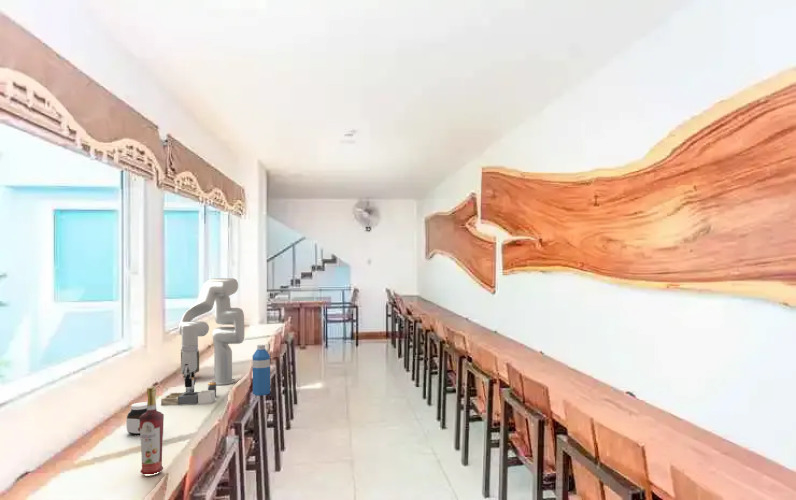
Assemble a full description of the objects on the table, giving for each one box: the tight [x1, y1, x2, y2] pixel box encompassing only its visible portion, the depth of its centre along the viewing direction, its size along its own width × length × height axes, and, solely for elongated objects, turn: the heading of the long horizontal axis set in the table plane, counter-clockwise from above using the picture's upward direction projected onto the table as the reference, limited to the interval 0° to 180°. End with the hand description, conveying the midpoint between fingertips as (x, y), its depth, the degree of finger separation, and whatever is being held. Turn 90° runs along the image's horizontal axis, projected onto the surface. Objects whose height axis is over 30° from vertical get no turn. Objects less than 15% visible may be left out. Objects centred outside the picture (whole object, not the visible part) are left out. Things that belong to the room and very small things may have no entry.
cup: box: [197, 389, 216, 405], centre depth 278 cm, size 6×6×5 cm
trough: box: [160, 392, 183, 406], centre depth 280 cm, size 12×8×3 cm, turn 2°
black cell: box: [207, 381, 217, 398], centre depth 289 cm, size 4×4×7 cm
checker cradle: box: [178, 391, 200, 406], centre depth 279 cm, size 9×9×4 cm
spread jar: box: [125, 401, 148, 437], centre depth 232 cm, size 12×11×12 cm
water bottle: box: [252, 344, 271, 396], centre depth 295 cm, size 9×9×25 cm
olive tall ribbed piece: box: [180, 348, 200, 381], centre depth 333 cm, size 14×9×25 cm, turn 25°
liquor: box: [139, 386, 165, 475], centre depth 186 cm, size 7×7×28 cm
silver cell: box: [185, 377, 195, 393], centre depth 279 cm, size 4×4×7 cm
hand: (190, 385), depth 279 cm, fingers closed on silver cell, 4 cm apart
